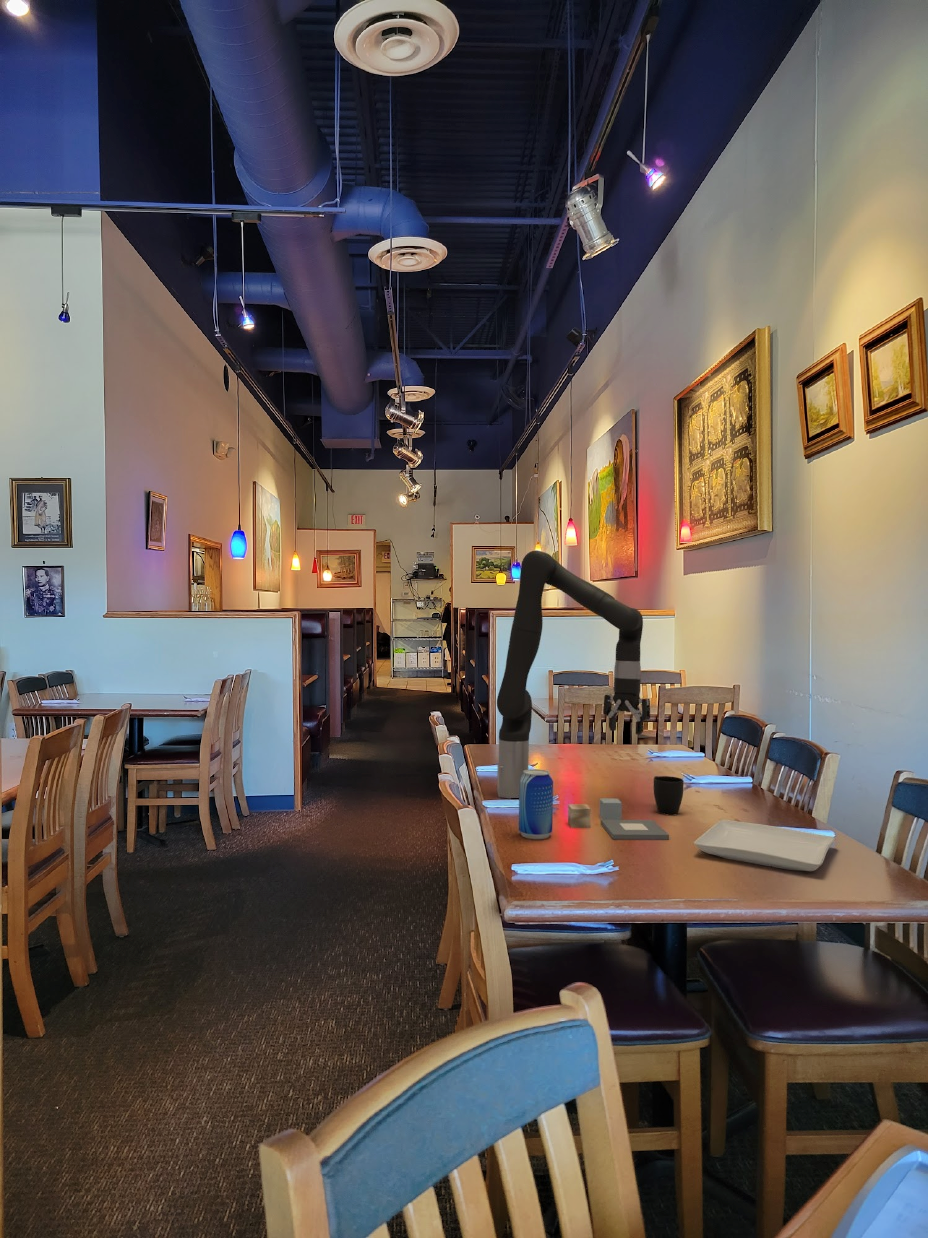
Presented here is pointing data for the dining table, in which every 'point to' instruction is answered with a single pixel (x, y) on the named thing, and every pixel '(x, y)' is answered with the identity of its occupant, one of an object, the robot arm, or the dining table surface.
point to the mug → (668, 794)
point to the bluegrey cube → (610, 809)
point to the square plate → (765, 845)
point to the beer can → (535, 804)
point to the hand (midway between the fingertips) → (625, 732)
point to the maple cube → (579, 815)
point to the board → (634, 829)
